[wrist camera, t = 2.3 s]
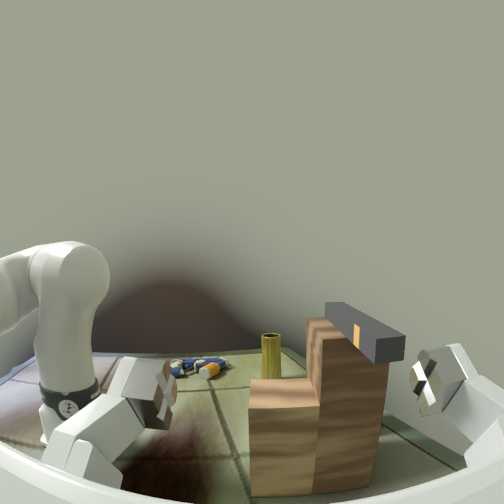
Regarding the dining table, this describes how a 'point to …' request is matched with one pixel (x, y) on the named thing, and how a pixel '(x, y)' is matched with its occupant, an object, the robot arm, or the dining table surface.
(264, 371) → the vase
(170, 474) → the dining table surface
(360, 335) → the bar
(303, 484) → the stand
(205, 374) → the toy blaster gun
